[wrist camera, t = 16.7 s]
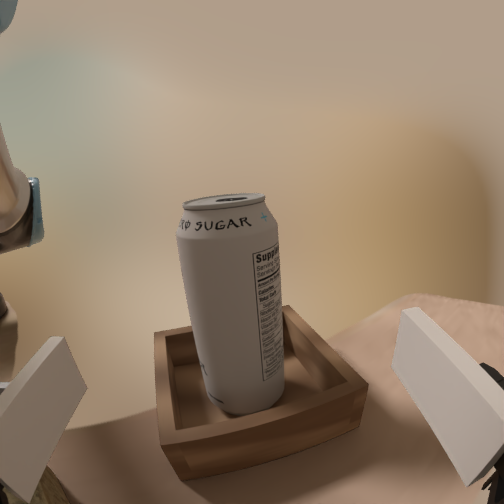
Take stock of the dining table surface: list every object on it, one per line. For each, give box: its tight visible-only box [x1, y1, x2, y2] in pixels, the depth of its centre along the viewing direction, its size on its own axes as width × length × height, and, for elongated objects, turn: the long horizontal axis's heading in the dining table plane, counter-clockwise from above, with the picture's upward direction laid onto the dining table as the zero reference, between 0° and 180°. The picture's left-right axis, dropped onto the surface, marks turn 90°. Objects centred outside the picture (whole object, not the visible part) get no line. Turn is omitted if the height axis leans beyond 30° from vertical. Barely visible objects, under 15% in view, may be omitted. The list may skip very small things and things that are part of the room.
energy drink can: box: [176, 193, 285, 416], centre depth 19 cm, size 6×6×15 cm
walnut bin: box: [154, 305, 369, 481], centre depth 21 cm, size 13×13×4 cm
